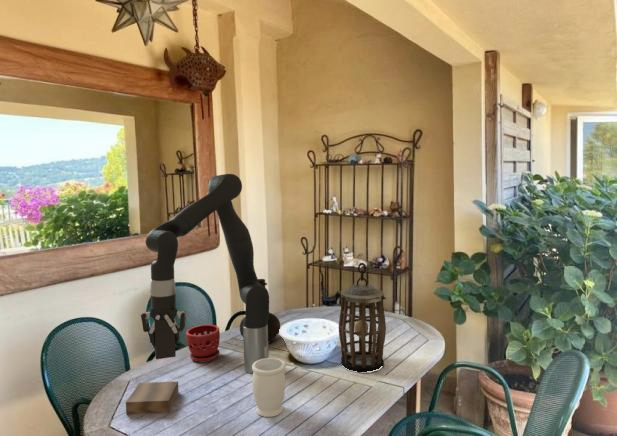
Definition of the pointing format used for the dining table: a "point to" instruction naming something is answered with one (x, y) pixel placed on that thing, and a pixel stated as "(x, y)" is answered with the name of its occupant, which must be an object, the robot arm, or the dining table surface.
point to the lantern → (362, 326)
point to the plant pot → (203, 342)
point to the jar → (268, 386)
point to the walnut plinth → (152, 398)
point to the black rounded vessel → (272, 321)
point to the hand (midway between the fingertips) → (164, 343)
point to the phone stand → (164, 339)
